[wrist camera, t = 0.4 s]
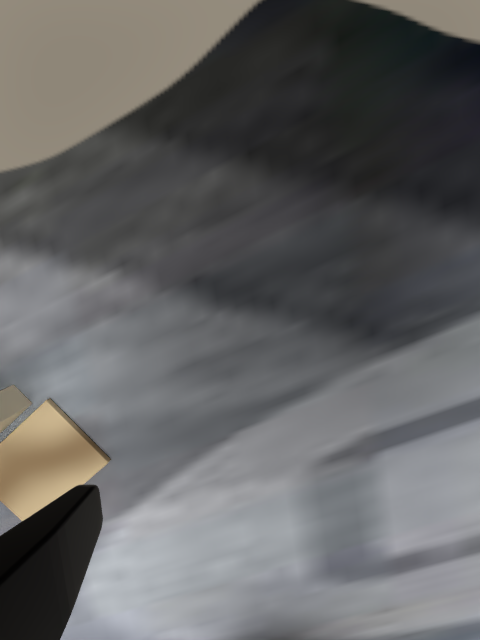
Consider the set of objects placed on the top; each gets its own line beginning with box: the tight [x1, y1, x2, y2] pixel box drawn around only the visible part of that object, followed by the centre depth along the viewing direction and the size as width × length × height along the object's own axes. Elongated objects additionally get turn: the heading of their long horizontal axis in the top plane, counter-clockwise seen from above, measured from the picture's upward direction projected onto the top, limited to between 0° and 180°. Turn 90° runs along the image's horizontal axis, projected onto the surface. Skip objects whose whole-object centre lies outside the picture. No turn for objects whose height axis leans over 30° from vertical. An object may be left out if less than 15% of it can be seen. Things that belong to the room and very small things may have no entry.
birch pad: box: [0, 398, 111, 521], centre depth 23 cm, size 6×8×1 cm
